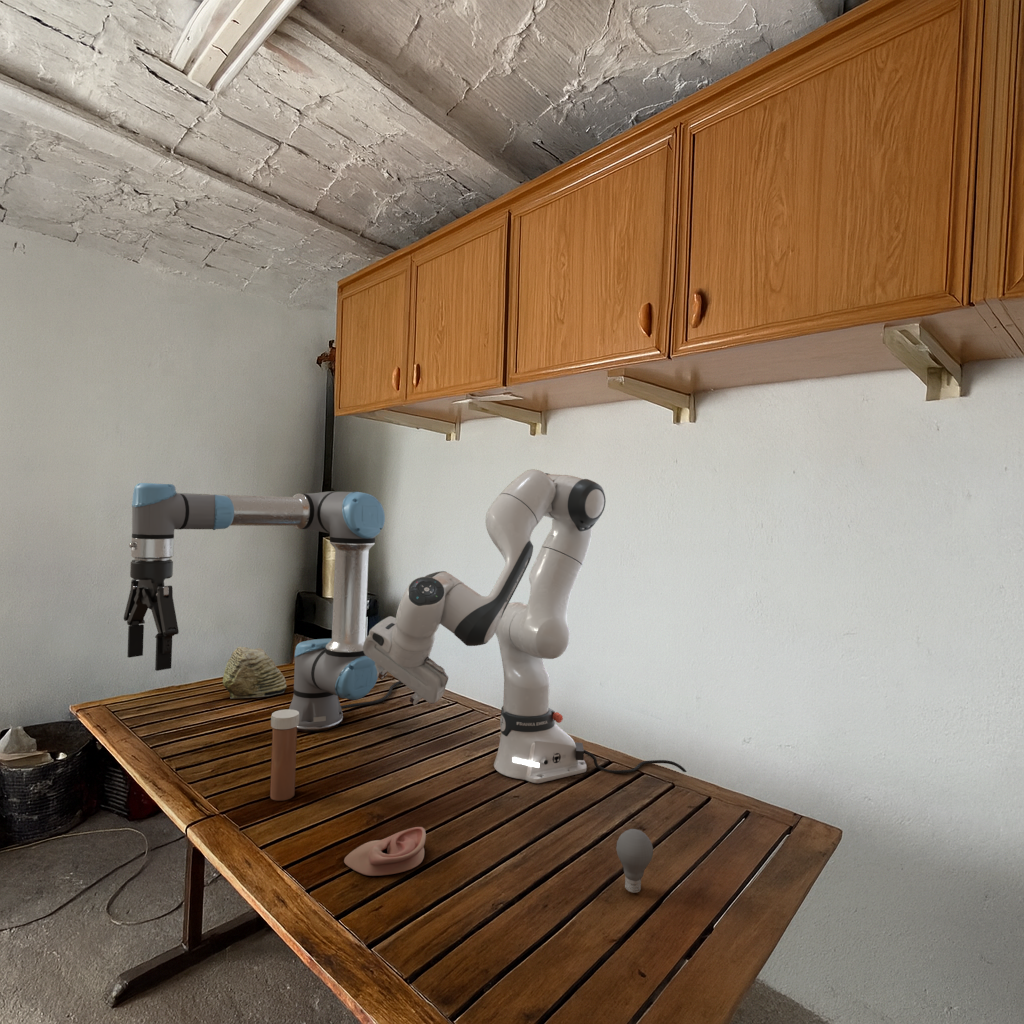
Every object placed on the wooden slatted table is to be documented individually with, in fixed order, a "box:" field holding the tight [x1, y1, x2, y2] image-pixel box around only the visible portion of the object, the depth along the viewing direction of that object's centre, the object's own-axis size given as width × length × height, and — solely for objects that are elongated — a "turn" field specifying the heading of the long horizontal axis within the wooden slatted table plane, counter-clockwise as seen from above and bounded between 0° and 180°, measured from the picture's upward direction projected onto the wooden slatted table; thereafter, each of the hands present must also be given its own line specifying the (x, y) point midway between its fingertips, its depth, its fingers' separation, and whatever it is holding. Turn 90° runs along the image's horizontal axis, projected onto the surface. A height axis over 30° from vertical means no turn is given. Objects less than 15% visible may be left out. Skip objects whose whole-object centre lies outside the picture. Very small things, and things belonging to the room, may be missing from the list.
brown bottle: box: [269, 726, 298, 802], centre depth 134 cm, size 5×5×17 cm
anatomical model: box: [343, 826, 427, 877], centre depth 112 cm, size 13×4×12 cm
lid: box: [270, 708, 299, 729], centre depth 133 cm, size 6×6×2 cm
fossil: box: [222, 646, 288, 699], centre depth 198 cm, size 9×18×15 cm, turn 132°
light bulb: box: [615, 828, 654, 894], centre depth 106 cm, size 6×6×10 cm
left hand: (148, 662), depth 129 cm, fingers open, 13 cm apart
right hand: (397, 689), depth 138 cm, fingers open, 8 cm apart
